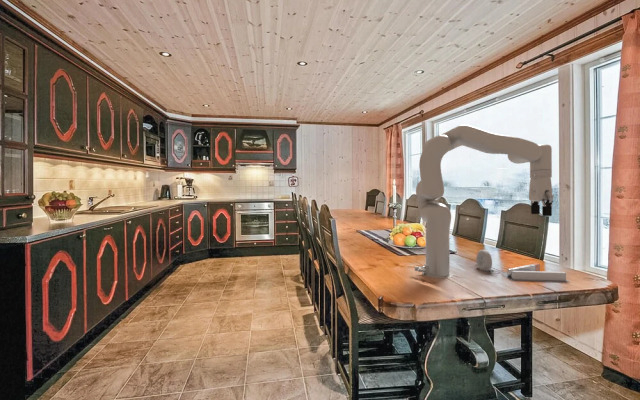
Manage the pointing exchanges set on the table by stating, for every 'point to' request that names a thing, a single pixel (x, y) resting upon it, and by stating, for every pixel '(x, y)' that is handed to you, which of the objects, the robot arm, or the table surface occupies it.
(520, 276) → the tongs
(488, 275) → the table surface
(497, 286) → the table surface
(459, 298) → the table surface
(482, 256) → the grey rounded slab
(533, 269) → the arm
